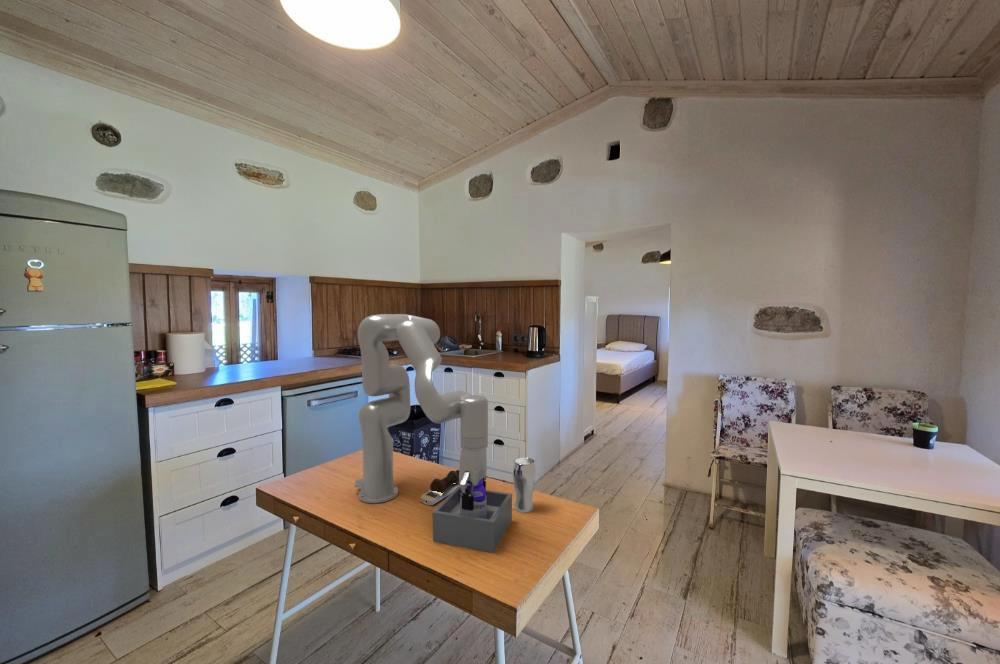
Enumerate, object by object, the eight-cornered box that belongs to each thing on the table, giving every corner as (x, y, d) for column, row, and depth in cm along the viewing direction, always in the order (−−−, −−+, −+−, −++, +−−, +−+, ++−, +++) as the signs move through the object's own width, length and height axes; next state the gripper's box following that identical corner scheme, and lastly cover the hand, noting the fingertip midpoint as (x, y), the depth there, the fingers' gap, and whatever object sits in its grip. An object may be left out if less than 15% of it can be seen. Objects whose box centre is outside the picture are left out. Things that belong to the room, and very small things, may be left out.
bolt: (461, 484, 152) (438, 500, 138) (451, 475, 153) (427, 490, 140) (468, 471, 150) (446, 486, 137) (458, 463, 152) (434, 476, 138)
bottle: (463, 535, 112) (463, 471, 111) (457, 525, 118) (457, 464, 117) (489, 529, 115) (489, 467, 114) (482, 520, 120) (482, 460, 119)
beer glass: (508, 508, 130) (508, 460, 129) (522, 500, 135) (522, 455, 134) (525, 516, 125) (525, 466, 124) (539, 507, 130) (540, 460, 129)
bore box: (432, 541, 111) (432, 512, 111) (458, 511, 127) (458, 486, 127) (493, 552, 106) (493, 522, 106) (511, 520, 122) (512, 493, 122)
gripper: (472, 430, 125) (472, 487, 126) (448, 449, 108) (448, 514, 109) (496, 433, 122) (496, 490, 123) (475, 452, 106) (475, 518, 107)
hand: (474, 501), depth 116 cm, fingers open, 9 cm apart
